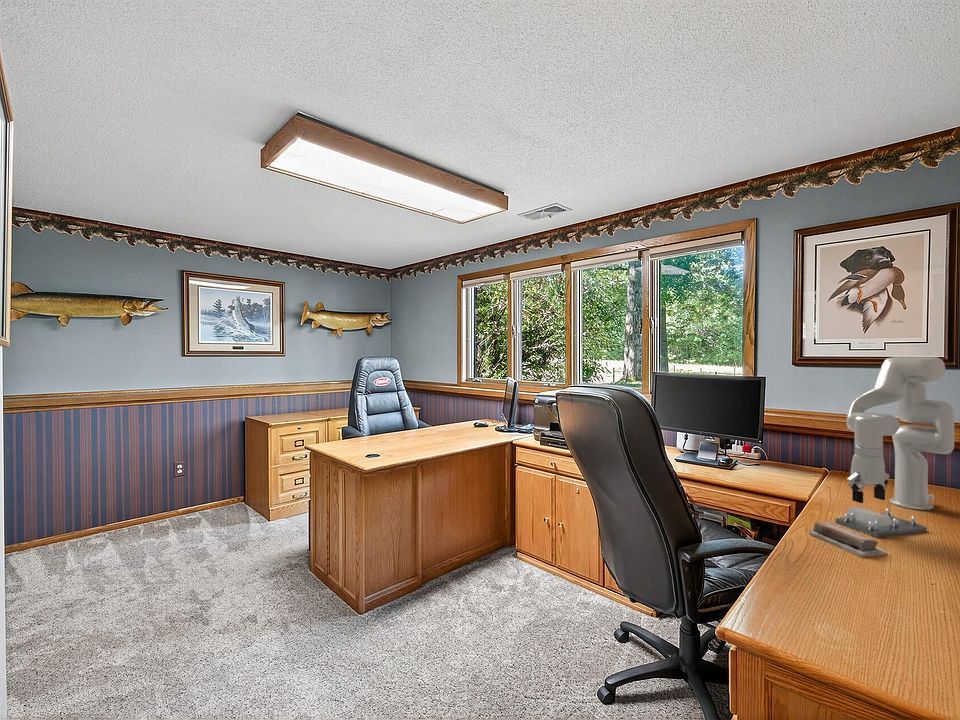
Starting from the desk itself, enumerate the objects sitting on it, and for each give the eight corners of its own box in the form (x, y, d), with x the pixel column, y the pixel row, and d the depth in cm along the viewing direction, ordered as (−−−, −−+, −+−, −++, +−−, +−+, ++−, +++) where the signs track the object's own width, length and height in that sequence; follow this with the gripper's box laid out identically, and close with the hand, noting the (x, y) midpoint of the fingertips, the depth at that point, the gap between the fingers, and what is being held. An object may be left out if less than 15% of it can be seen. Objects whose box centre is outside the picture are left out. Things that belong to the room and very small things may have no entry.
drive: (858, 517, 164) (859, 506, 163) (890, 528, 154) (890, 516, 154) (847, 519, 162) (847, 508, 162) (877, 530, 152) (878, 517, 152)
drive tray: (882, 516, 169) (882, 506, 169) (927, 531, 155) (927, 519, 155) (835, 522, 163) (835, 511, 163) (877, 538, 150) (877, 525, 150)
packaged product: (807, 521, 154) (832, 518, 156) (807, 535, 154) (832, 532, 156) (861, 543, 136) (888, 540, 138) (861, 559, 136) (888, 556, 138)
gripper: (876, 447, 163) (876, 494, 164) (838, 451, 159) (838, 499, 160) (899, 452, 156) (899, 501, 156) (860, 456, 152) (860, 506, 152)
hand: (868, 500), depth 158 cm, fingers open, 9 cm apart
